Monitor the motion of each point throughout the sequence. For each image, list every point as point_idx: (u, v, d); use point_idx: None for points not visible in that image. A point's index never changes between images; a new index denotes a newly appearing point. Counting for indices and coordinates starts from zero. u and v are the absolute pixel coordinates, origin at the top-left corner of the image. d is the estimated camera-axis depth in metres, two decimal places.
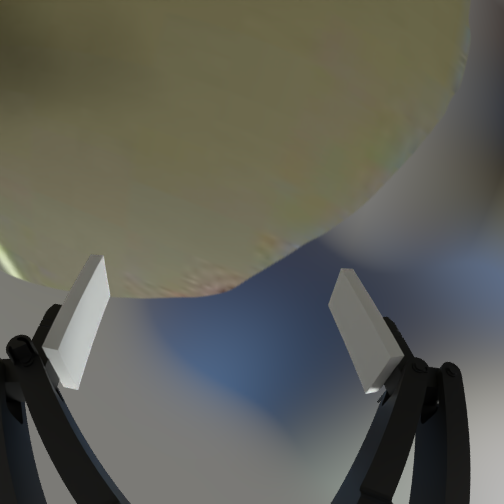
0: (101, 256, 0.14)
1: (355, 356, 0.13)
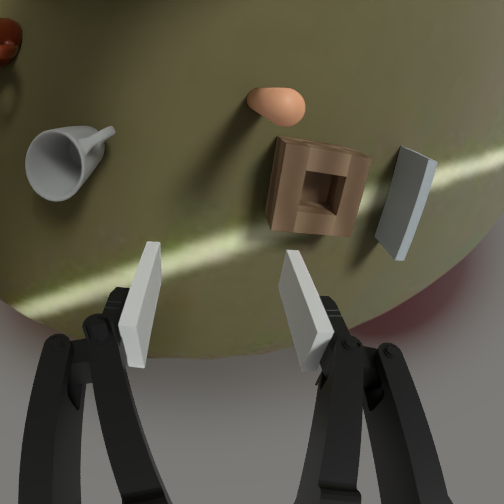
0: (158, 243, 0.16)
1: (294, 334, 0.14)
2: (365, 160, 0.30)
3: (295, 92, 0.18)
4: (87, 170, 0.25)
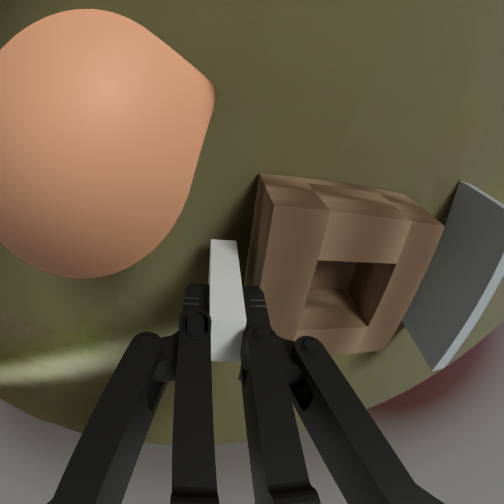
0: (222, 241, 0.17)
1: None
2: (434, 230, 0.14)
3: (108, 23, 0.02)
4: None
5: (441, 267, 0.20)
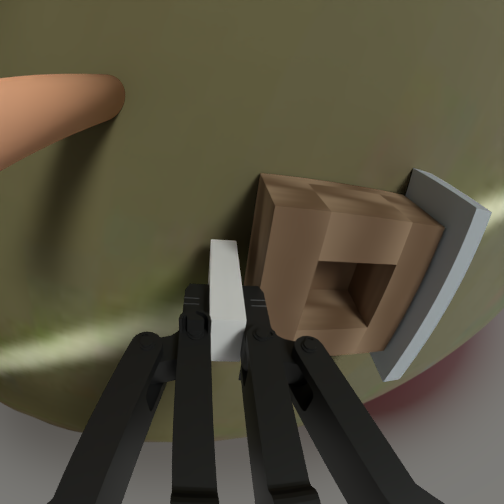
0: (222, 241, 0.17)
1: None
2: (434, 231, 0.14)
3: None
4: None
5: None
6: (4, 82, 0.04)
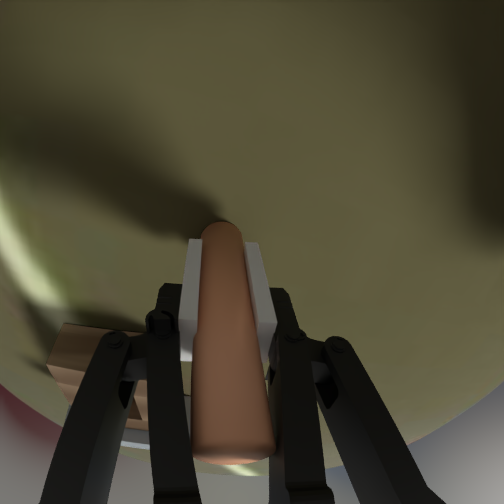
0: (200, 240, 0.17)
1: None
2: None
3: (266, 456, 0.08)
4: None
5: None
6: None
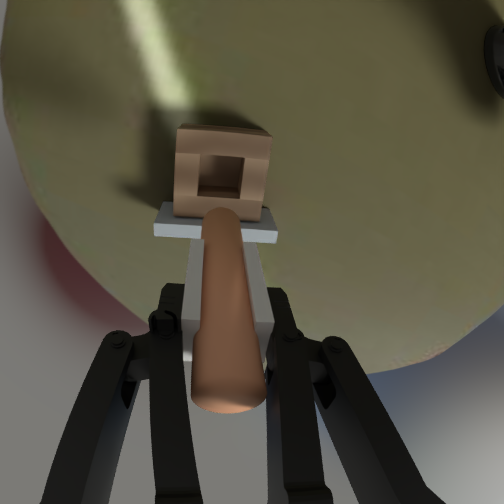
0: (202, 240, 0.17)
1: None
2: (257, 215, 0.34)
3: (258, 402, 0.10)
4: None
5: None
6: None
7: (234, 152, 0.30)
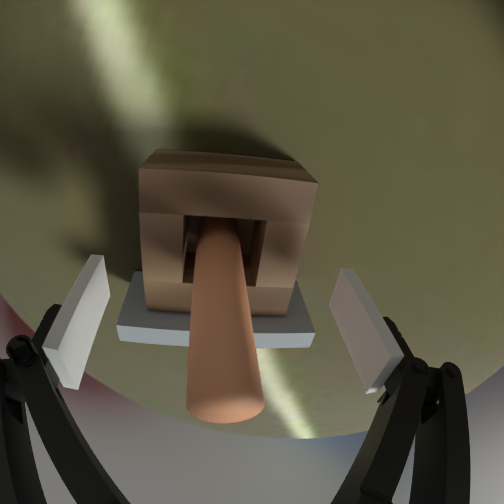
0: (101, 256, 0.14)
1: (355, 356, 0.13)
2: (283, 308, 0.21)
3: (255, 413, 0.10)
4: None
5: None
6: None
7: (247, 211, 0.17)
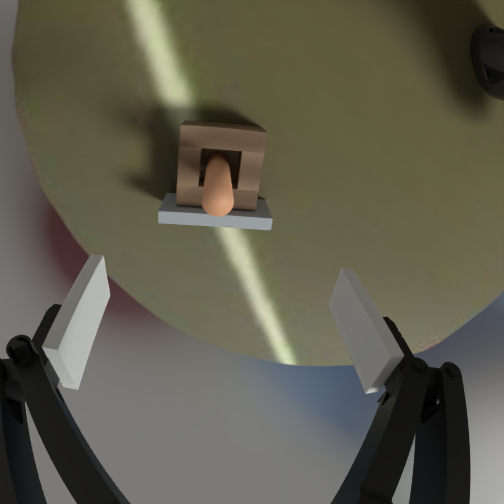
0: (101, 256, 0.14)
1: (355, 356, 0.13)
2: (254, 204, 0.37)
3: (230, 208, 0.26)
4: None
5: None
6: None
7: (232, 146, 0.33)
